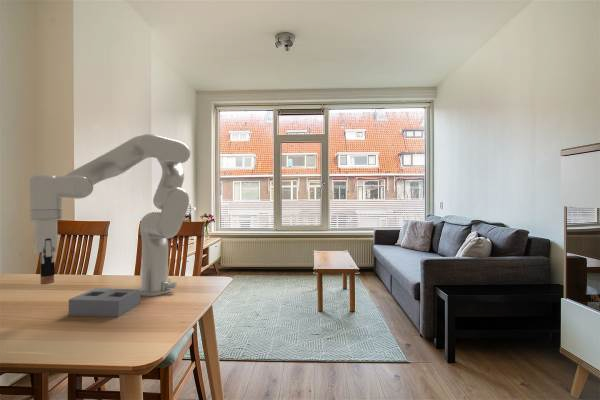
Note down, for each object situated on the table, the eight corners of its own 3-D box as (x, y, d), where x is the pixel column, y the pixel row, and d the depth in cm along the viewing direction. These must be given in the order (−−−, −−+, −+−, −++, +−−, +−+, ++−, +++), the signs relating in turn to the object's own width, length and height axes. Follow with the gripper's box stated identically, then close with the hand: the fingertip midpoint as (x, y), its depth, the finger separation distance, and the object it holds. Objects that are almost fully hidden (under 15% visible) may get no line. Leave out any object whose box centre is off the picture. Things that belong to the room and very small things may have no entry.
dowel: (56, 281, 95) (56, 249, 95) (48, 284, 92) (47, 251, 92) (46, 281, 95) (46, 249, 95) (37, 284, 92) (37, 251, 92)
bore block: (139, 303, 107) (140, 289, 107) (118, 316, 95) (118, 301, 95) (95, 302, 107) (95, 288, 107) (68, 315, 95) (68, 299, 95)
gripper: (29, 214, 96) (30, 271, 97) (31, 217, 84) (32, 283, 85) (59, 213, 102) (59, 267, 102) (65, 216, 90) (65, 277, 90)
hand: (47, 274), depth 94 cm, fingers closed on dowel, 3 cm apart
